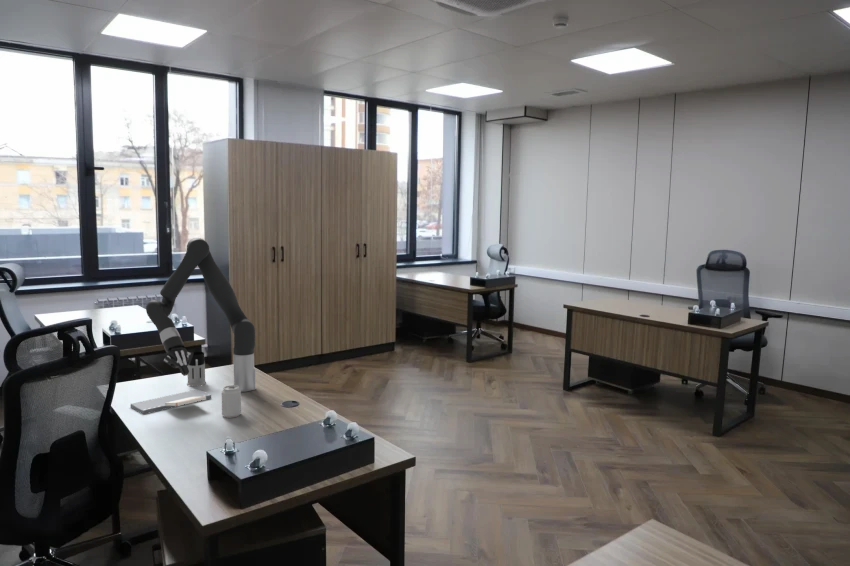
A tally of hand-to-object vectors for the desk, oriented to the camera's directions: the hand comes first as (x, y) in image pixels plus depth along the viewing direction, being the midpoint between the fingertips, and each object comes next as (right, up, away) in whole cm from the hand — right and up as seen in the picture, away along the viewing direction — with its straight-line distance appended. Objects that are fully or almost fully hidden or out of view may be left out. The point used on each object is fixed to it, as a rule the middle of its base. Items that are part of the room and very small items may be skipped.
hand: (186, 374), depth 248 cm
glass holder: (-10, -11, +36) cm, 39 cm away
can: (+20, -17, -3) cm, 26 cm away
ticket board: (-10, -14, +11) cm, 20 cm away
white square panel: (-6, -13, +6) cm, 16 cm away
